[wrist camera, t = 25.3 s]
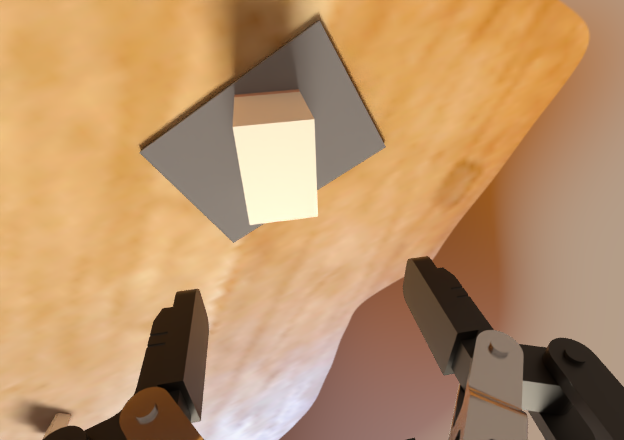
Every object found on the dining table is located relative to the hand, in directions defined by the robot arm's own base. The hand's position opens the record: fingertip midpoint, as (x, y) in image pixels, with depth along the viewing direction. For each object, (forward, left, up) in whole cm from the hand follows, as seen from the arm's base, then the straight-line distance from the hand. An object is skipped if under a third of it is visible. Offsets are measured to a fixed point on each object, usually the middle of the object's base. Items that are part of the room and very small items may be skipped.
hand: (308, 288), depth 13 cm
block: (+2, -1, -14) cm, 14 cm away
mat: (+3, -2, -22) cm, 22 cm away
